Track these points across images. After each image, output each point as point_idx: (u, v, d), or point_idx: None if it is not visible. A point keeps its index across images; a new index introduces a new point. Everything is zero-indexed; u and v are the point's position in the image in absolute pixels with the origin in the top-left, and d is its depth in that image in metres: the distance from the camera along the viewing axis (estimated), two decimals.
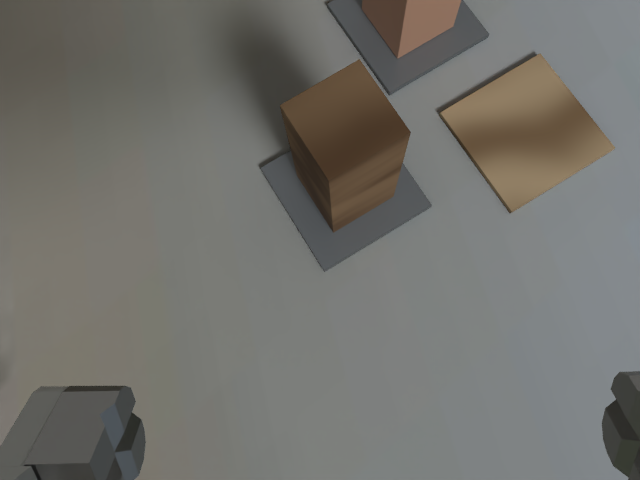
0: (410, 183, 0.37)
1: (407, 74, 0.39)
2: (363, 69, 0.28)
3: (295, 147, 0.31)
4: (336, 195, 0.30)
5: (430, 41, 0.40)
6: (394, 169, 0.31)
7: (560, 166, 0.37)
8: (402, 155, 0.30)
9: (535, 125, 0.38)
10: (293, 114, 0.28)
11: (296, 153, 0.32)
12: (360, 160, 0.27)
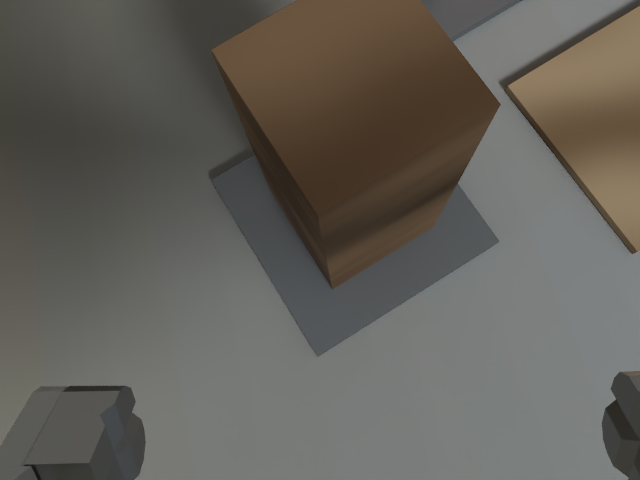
0: (461, 204, 0.22)
1: (451, 24, 0.24)
2: None
3: (255, 143, 0.16)
4: (337, 239, 0.15)
5: None
6: (447, 183, 0.16)
7: None
8: (468, 156, 0.15)
9: None
10: (239, 68, 0.13)
11: (260, 154, 0.17)
12: (389, 168, 0.12)
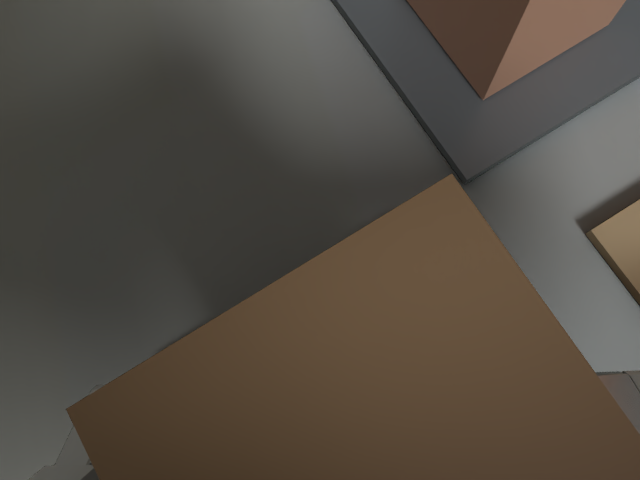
0: None
1: (506, 136, 0.17)
2: (474, 225, 0.06)
3: None
4: None
5: (556, 59, 0.17)
6: None
7: None
8: None
9: None
10: (128, 462, 0.06)
11: None
12: None
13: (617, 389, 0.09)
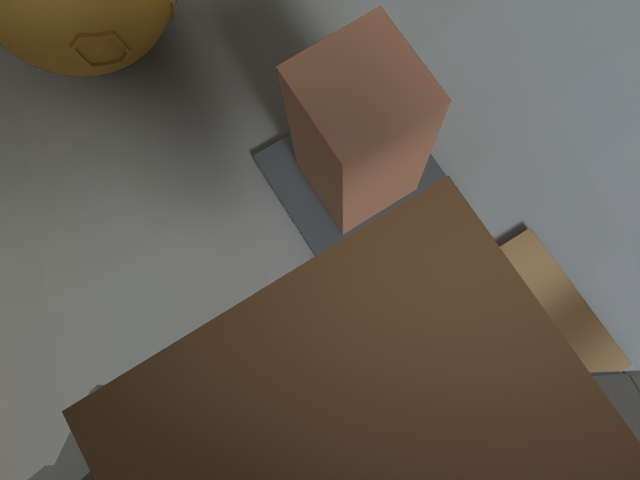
0: None
1: None
2: (470, 227, 0.06)
3: None
4: None
5: (386, 209, 0.30)
6: None
7: None
8: None
9: None
10: (123, 465, 0.06)
11: None
12: None
13: (617, 389, 0.09)
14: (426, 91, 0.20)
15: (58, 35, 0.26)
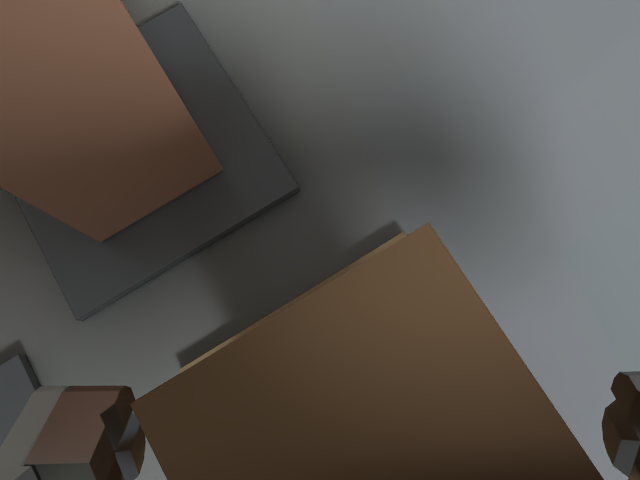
0: None
1: (118, 277, 0.18)
2: (445, 263, 0.08)
3: None
4: None
5: (174, 202, 0.19)
6: None
7: None
8: None
9: None
10: (178, 445, 0.07)
11: None
12: None
13: None
14: None
15: None
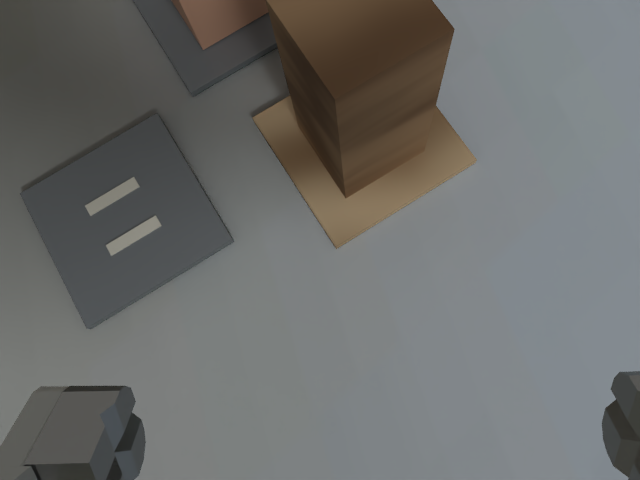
0: (207, 211, 0.28)
1: (214, 69, 0.30)
2: None
3: (291, 71, 0.23)
4: (348, 132, 0.21)
5: (247, 27, 0.31)
6: (428, 100, 0.23)
7: (402, 185, 0.28)
8: (440, 75, 0.21)
9: None
10: (283, 9, 0.19)
11: (293, 82, 0.23)
12: (381, 69, 0.18)
13: None
14: None
15: None
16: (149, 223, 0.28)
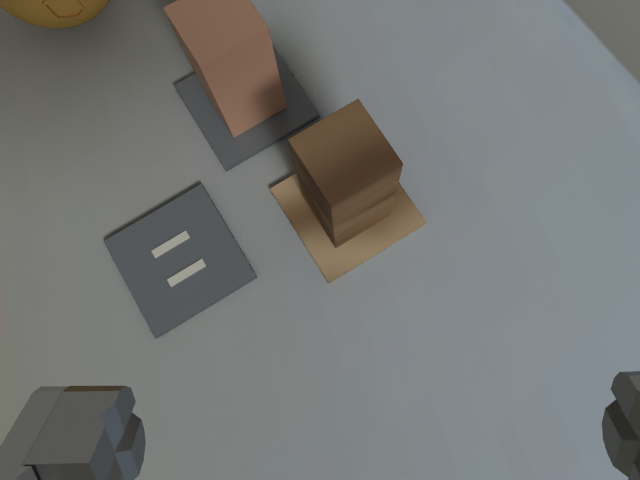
0: (238, 255, 0.41)
1: (242, 152, 0.42)
2: (361, 107, 0.32)
3: (301, 174, 0.35)
4: (338, 218, 0.33)
5: (265, 121, 0.43)
6: (390, 193, 0.35)
7: (375, 240, 0.40)
8: (396, 182, 0.34)
9: None
10: (299, 147, 0.31)
11: (302, 179, 0.36)
12: (358, 188, 0.31)
13: None
14: (253, 22, 0.33)
15: None
16: (197, 264, 0.40)
